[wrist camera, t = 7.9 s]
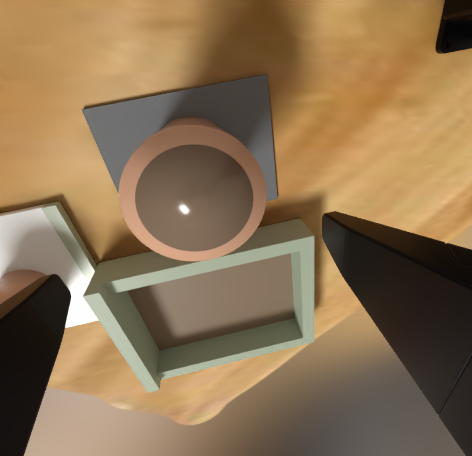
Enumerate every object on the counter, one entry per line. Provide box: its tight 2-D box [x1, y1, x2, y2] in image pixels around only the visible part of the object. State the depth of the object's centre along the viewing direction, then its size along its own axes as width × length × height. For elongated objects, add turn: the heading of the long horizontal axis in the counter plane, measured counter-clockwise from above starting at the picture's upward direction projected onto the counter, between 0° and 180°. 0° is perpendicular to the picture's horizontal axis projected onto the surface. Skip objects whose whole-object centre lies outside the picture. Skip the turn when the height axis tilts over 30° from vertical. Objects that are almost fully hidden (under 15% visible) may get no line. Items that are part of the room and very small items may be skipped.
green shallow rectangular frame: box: [83, 218, 314, 393], centre depth 24 cm, size 18×14×4 cm
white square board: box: [0, 201, 98, 328], centre depth 21 cm, size 10×12×1 cm
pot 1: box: [0, 270, 46, 304], centre depth 19 cm, size 6×6×6 cm
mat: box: [82, 74, 277, 201], centre depth 19 cm, size 12×9×1 cm
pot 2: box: [119, 116, 267, 261], centre depth 15 cm, size 7×7×7 cm
